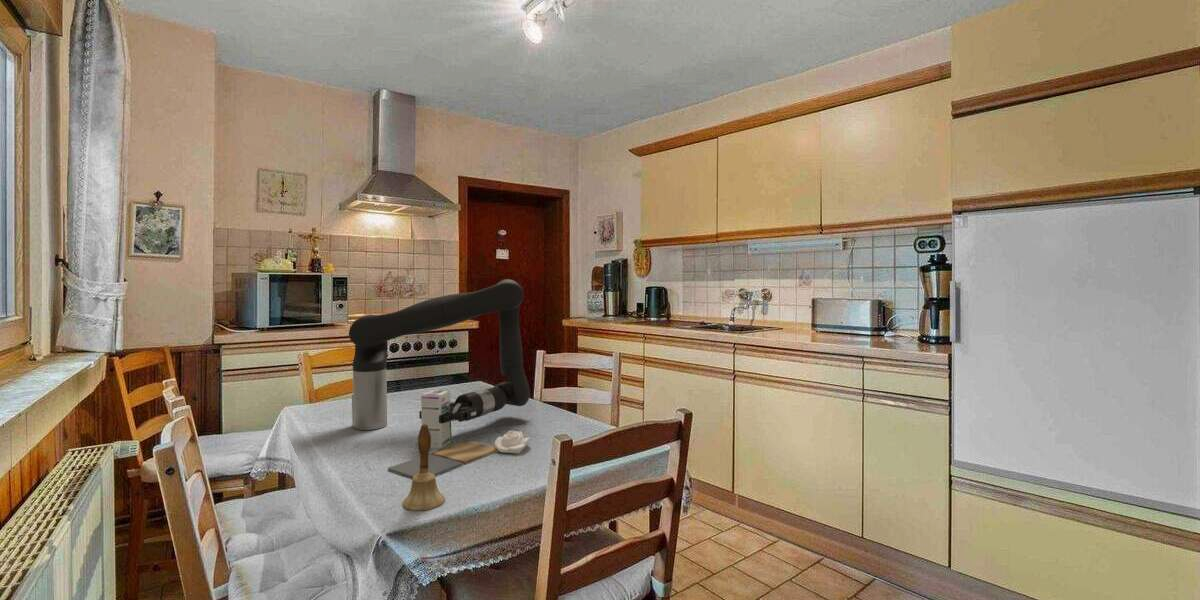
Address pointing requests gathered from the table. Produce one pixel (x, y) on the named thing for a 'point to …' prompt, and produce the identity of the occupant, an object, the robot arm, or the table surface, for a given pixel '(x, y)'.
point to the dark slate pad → (434, 462)
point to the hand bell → (423, 479)
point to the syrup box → (436, 416)
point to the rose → (511, 442)
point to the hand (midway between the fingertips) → (430, 417)
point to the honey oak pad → (465, 451)
